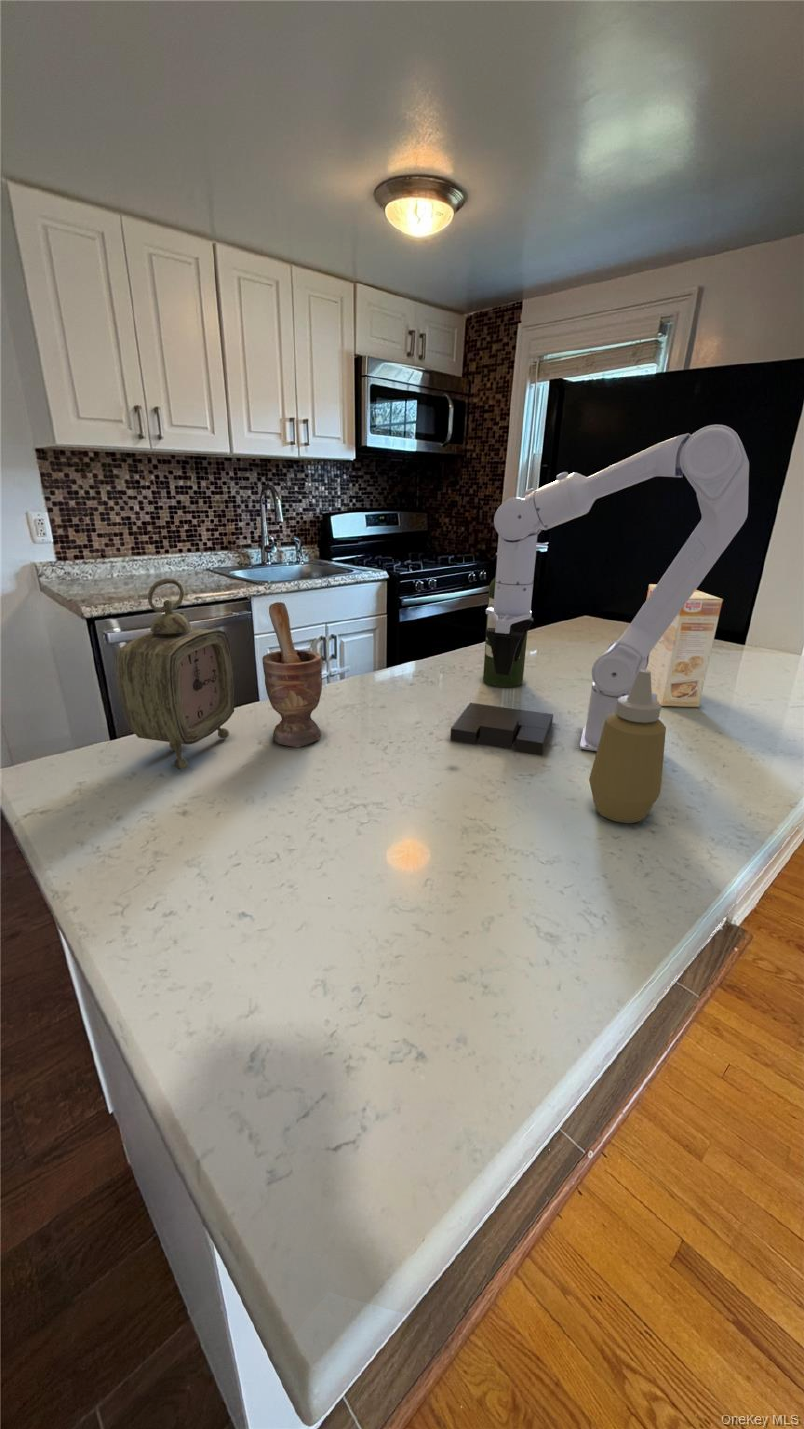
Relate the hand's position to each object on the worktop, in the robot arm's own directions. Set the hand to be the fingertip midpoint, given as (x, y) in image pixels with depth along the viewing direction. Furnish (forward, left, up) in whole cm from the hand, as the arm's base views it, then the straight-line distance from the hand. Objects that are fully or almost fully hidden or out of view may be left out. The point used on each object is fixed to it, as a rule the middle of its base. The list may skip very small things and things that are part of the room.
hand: (507, 667), depth 92 cm
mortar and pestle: (+30, +18, -10) cm, 36 cm away
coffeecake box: (-26, -25, -10) cm, 37 cm away
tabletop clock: (+41, +29, -10) cm, 51 cm away
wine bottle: (+4, -20, -10) cm, 23 cm away
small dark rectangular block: (-1, +8, -9) cm, 13 cm away
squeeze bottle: (-19, +23, -10) cm, 31 cm away
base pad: (-1, +5, -9) cm, 11 cm away
